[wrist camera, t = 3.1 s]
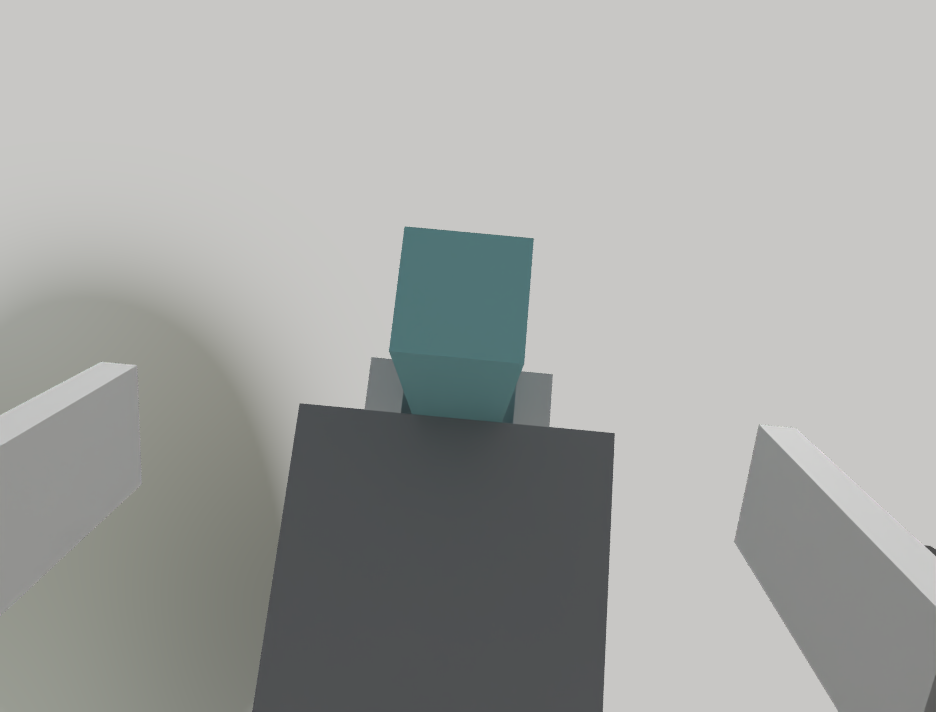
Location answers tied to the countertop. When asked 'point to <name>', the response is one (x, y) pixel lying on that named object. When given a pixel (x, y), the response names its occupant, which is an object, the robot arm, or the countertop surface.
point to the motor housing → (440, 560)
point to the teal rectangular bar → (461, 321)
